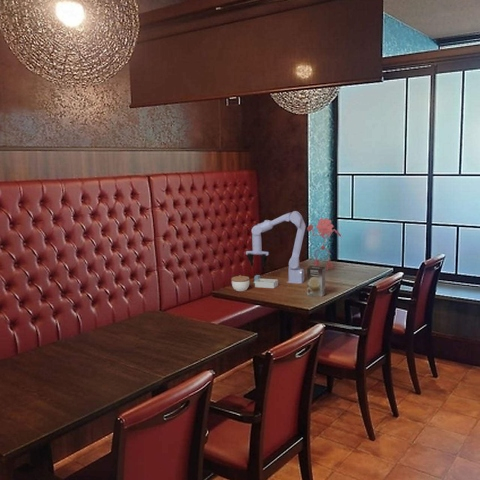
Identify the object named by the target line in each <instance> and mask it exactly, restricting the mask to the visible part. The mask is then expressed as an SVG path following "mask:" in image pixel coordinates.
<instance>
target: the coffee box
mask: <svg viewBox="0 0 480 480" xmlns="http://www.w3.org/2000/svg"><path fill="white" fill-rule="evenodd" d="M306 284H307V285H306V288H307V290H306V296H311V297H321V298H322V297H324V295H326V266H322V265H321V266H315V265H309V266H308V267H307V268H306Z"/></svg>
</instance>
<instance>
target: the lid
mask: <svg viewBox="0 0 480 480" xmlns="http://www.w3.org/2000/svg"><path fill="white" fill-rule="evenodd" d="M259 278H261V275H260V274H256V275H254V278H253V279H254V281H253V283H252V284H255V281H256V280H258V279H259Z"/></svg>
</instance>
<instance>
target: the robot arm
mask: <svg viewBox="0 0 480 480" xmlns="http://www.w3.org/2000/svg"><path fill="white" fill-rule="evenodd" d="M283 222H291V223H292V224H294V225H295V227H296V228H297V231H296V235H295V238H294V245H293V249H292V255H291V257H290V259H289V261H288V281H286V283H288V284H298V285H299V284H302V283H304V282H305V269H304V268H301V267H300V255H301V249H302V245H303V240H304V236H305V232H306V223H305V221H304V217H303V215H302V214H301V213H300V212H299V211H297V210H294V211H292V212H290V211H289V212H287V213H285V214H282V215H280V216H279V217H277V218H274V219H273V220H269V219H265V220H264V221H262V222H260V223H257V224H255V225H254V226H253V227H252V228H251V234H252V235H251V237H252V239H251V241H252V242H251V245H252V247H251V248H252V250H247V251H245V255H246V257H247V259H248V261H249V264H250V267H253V266H254V256H257V255H258V256H261V262H262V263H261V266H262V268H263V267H265V265H266V261H267V258H268V256H269V255H270V252H269V251H263V250H262V249H263V248H262V247H263V246H262V243H263V242H262V233H265V232H268V231H269V230H272V229H273V227H274V226H276V225H278V224H280V223H283Z"/></svg>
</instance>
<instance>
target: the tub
mask: <svg viewBox="0 0 480 480" xmlns="http://www.w3.org/2000/svg"><path fill="white" fill-rule="evenodd" d="M260 281H264V282H260ZM278 286H279V279H275V278H274V279H273V278H261V277H260V278H259V279H258V280H256V281H255V283H254V288H261V289H262V288H265V289H275V288H277V287H278Z"/></svg>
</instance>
